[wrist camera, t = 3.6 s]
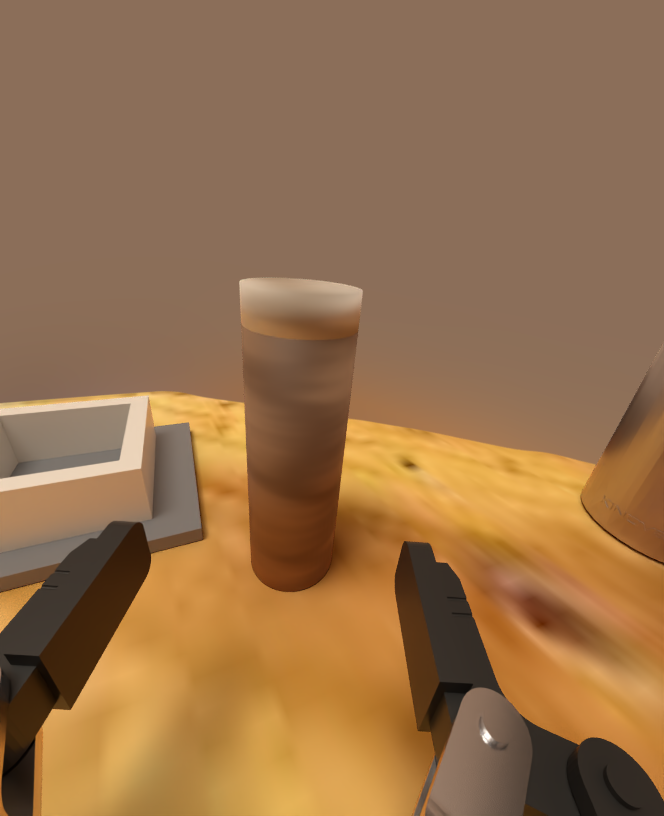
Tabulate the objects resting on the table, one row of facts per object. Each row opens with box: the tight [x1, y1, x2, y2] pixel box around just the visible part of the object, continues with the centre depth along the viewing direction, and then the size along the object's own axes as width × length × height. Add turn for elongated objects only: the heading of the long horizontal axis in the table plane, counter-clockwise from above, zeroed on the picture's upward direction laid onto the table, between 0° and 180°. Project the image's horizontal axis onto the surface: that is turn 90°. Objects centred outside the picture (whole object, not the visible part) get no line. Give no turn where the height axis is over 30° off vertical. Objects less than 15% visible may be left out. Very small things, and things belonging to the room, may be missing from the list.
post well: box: [0, 396, 203, 592], centre depth 22 cm, size 16×14×5 cm
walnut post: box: [239, 278, 363, 592], centre depth 17 cm, size 5×5×16 cm
